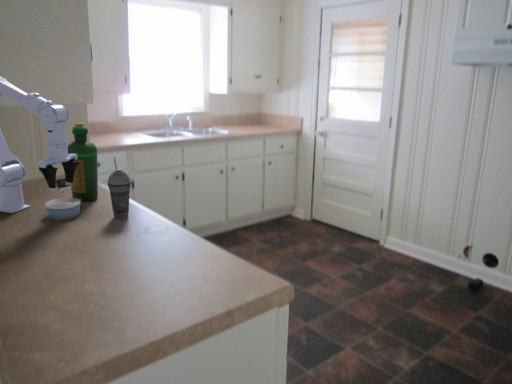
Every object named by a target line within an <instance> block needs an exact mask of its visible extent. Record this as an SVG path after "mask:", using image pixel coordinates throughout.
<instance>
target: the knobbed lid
mask: <svg viewBox="0 0 512 384" xmlns="http://www.w3.org/2000/svg"><path fill="white" fill-rule="evenodd" d="M50 189H51V191H58V192H60V194H62V193H64V191H68V190H71V184H70V183H67V182H66V178H65V177H63V178H62V177H59V178H56V188H54V189H53V188H50Z"/></svg>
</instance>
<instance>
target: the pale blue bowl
mask: <svg viewBox="0 0 512 384" xmlns="http://www.w3.org/2000/svg"><path fill="white" fill-rule="evenodd" d="M44 206H45V208H46V216H47V218H48V219H49V220H54V221H64V220H65V221H66V220H71V219H75V218H77V217H79V216H80V215H81V208H82V207H83V202H82V200H81V198H73V197H63V198H62V197H61V198H55V199H51V200H48V201H46V202H45V203H44Z"/></svg>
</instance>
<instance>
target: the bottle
mask: <svg viewBox="0 0 512 384" xmlns="http://www.w3.org/2000/svg"><path fill="white" fill-rule="evenodd" d="M71 134H72V135H73V138H74V140H73V141H71V142H70V143H69V144H67V148H68V154H71V153H74V154H77V160H75V161H78V162H79V164H78V166H77V168H76V170H75V174H74V179H73V183H70V185H71V189H70V190H71V195H72V198H81V200H82V203H87V202H93V201H95V200H97V198H98V195H99V193H98V192H99V190H98V189H99V188H98V185H99V184H98V181H99V179H98V177H99V176H98V148H97V146H96V145H95V143H92V142H91V141H90V140H88V134H89V130H88V126H85V123H84V122H75V123H74V126H73V127H72V130H71Z"/></svg>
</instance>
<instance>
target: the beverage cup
mask: <svg viewBox="0 0 512 384" xmlns="http://www.w3.org/2000/svg"><path fill="white" fill-rule="evenodd" d="M113 162H114V168H115V171H113V172H112V173H110V175H109V176H108V179H107V187H108V191H109V194H110V201H111V206H112V207H111V209H112V213H113V218H114V219H116V220H126V219H127V218H129V213H130V211H129V209H130V208H129V207H130V189H131V184H132V181H131V178H130V176H129V174H128V173H126V172H125V171H123V170H118V166H117V159H116V157H115V156H113Z"/></svg>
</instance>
